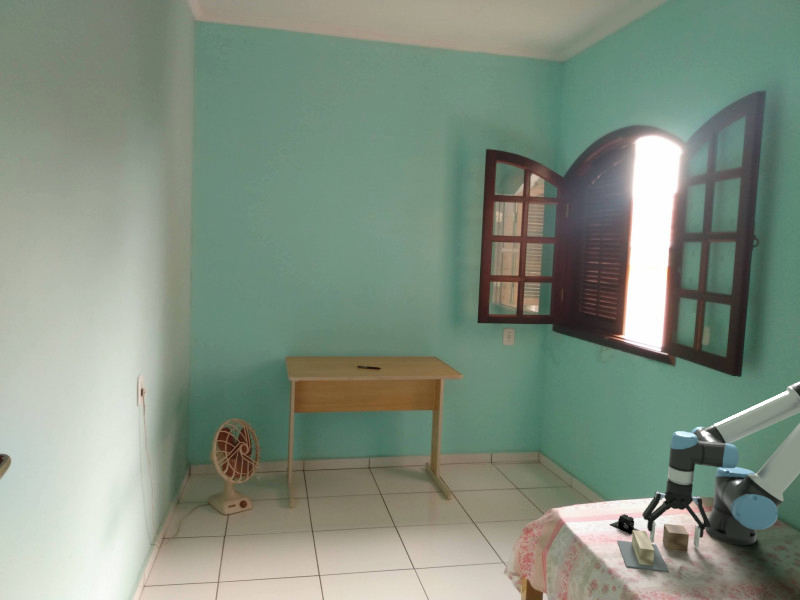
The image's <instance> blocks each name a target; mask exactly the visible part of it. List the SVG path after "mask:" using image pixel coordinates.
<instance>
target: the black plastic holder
mask: <svg viewBox="0 0 800 600" xmlns="http://www.w3.org/2000/svg"><path fill="white" fill-rule="evenodd" d="M634 518H635V517H632V516H629V515H627V514H625V513H624V514H622V515H619V518H618V521H615V522H613V523H610V524H609V526H610V527H613V528H615V529H618V530H619V531H622V532H624V533H626V534H628V535H630V536H632V531H633V530H638V531H641V530H639V529H638V528H635V519H634Z"/></svg>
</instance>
